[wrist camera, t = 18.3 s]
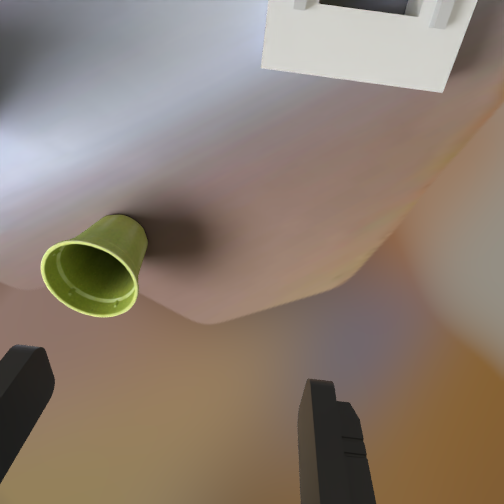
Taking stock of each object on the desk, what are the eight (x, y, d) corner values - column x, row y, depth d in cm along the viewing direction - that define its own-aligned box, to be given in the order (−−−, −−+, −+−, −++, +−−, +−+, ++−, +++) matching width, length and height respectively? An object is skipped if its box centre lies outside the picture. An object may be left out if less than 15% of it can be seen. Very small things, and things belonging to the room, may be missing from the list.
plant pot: (100, 183, 39) (57, 223, 32) (176, 229, 42) (153, 276, 34) (71, 241, 44) (29, 287, 37) (142, 280, 46) (115, 330, 39)
